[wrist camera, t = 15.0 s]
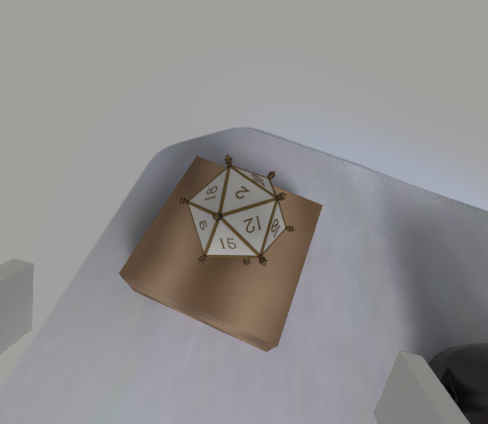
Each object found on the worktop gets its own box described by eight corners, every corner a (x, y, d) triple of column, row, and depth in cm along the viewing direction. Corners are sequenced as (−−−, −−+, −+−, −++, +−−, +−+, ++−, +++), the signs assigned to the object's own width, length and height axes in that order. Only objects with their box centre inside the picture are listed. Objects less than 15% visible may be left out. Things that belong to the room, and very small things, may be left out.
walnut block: (306, 231, 35) (322, 205, 29) (265, 352, 28) (277, 345, 23) (198, 188, 36) (196, 156, 31) (135, 292, 29) (118, 273, 24)
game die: (218, 238, 31) (197, 143, 26) (301, 238, 28) (292, 133, 24) (181, 299, 23) (143, 179, 19) (291, 307, 20) (275, 170, 16)
